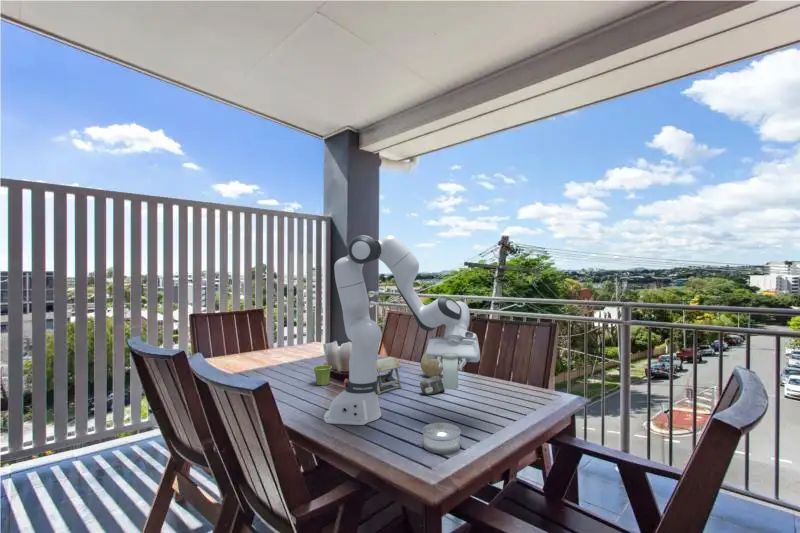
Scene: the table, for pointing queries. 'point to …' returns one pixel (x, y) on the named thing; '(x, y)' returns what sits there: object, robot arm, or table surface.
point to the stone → (432, 385)
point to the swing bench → (387, 379)
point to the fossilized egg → (430, 366)
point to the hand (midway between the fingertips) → (450, 369)
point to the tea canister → (450, 370)
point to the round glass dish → (441, 438)
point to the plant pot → (322, 374)
